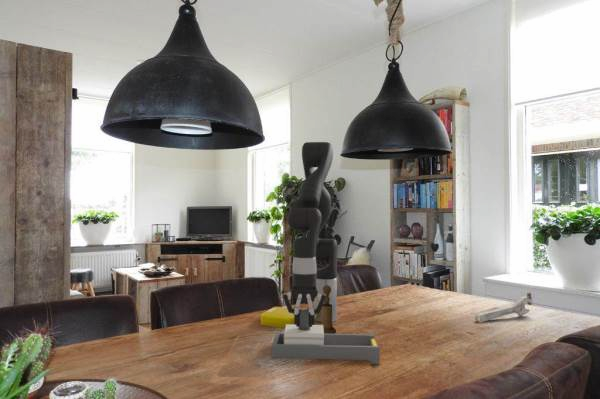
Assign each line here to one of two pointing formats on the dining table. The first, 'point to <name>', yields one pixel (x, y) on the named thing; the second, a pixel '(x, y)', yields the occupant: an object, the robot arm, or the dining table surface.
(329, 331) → the brown wooden tall piece
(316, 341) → the white plate with knob
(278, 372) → the dining table surface
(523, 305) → the wrench
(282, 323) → the element tile
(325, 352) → the bay
